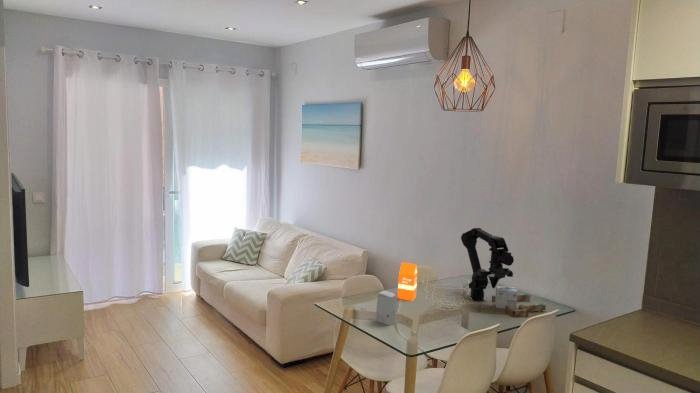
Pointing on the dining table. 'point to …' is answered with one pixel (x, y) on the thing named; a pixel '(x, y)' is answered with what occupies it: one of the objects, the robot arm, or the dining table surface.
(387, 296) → the skincare box
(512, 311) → the corridor
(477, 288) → the robot arm
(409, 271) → the orange juice
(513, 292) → the light bulb box
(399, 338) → the dining table surface
